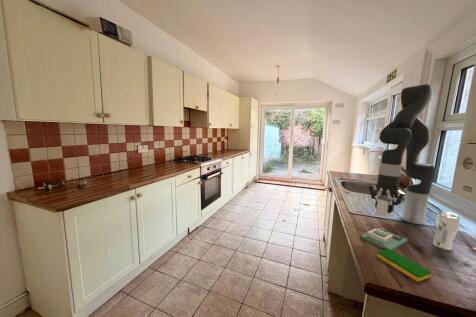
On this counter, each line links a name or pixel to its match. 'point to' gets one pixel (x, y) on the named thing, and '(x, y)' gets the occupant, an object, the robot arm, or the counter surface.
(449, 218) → the beer glass
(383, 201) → the plug
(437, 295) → the counter surface
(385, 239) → the board
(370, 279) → the counter surface
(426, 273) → the dish sponge
